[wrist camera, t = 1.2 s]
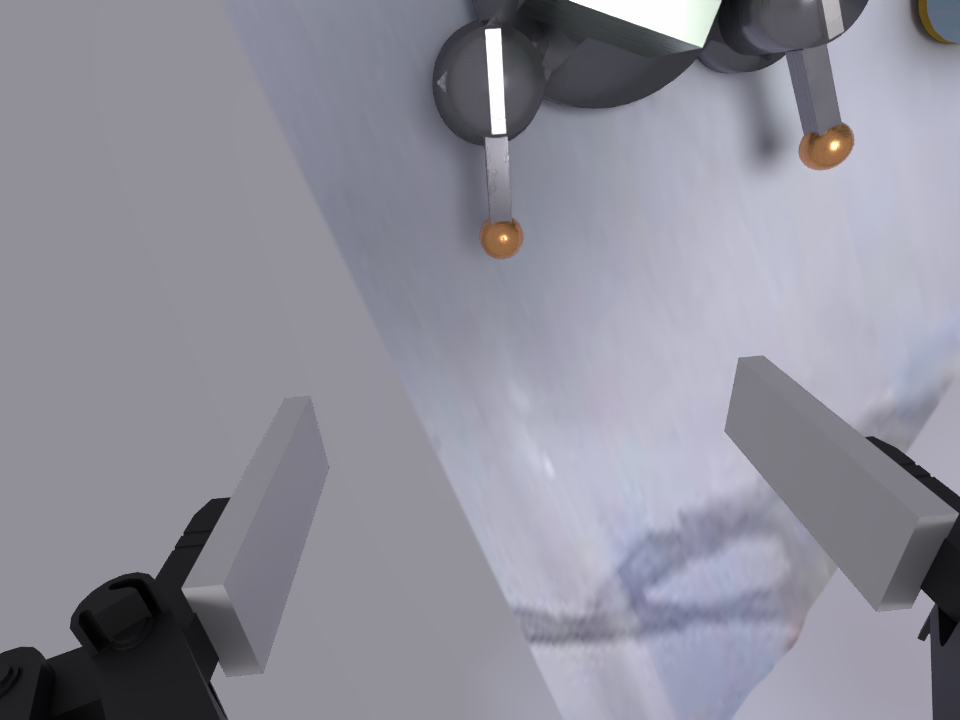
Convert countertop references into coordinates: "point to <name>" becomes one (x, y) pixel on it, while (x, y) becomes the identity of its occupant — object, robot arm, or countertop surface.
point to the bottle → (941, 19)
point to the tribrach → (604, 48)
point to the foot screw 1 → (496, 114)
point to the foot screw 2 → (799, 62)
